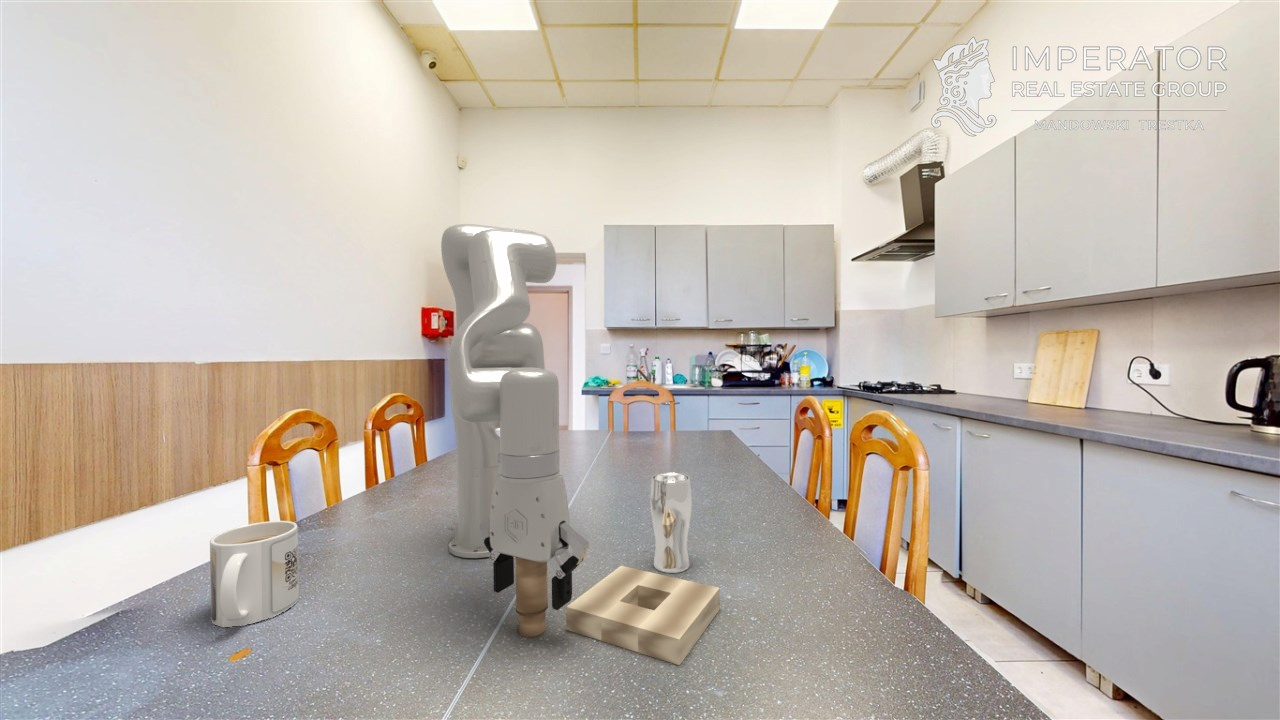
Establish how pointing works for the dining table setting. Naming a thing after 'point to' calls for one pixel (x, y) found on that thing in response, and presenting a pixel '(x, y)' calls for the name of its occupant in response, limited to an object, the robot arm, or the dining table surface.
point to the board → (645, 613)
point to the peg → (531, 596)
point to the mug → (253, 572)
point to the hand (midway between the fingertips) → (531, 596)
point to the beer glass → (671, 520)
